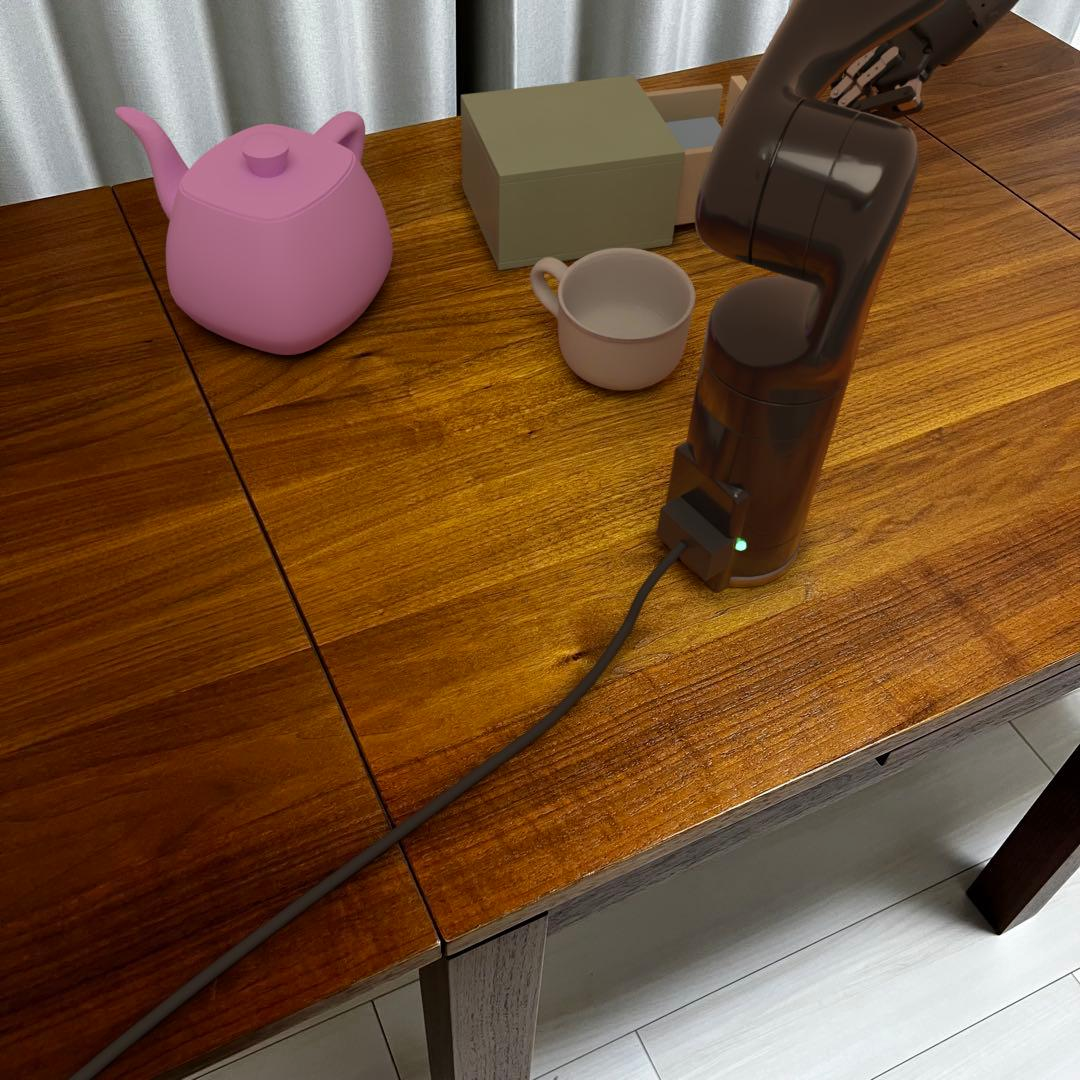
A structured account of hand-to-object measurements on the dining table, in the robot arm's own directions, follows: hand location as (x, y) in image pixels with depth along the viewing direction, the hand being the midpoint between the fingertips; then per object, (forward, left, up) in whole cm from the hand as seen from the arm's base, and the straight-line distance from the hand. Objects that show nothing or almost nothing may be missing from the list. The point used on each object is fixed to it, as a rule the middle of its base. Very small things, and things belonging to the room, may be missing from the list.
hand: (809, 138), depth 114 cm
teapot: (-51, +13, -5) cm, 52 cm away
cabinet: (-23, +9, -5) cm, 25 cm away
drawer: (-10, +4, -4) cm, 11 cm away
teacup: (-33, -9, -5) cm, 34 cm away
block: (-11, +4, -3) cm, 12 cm away
